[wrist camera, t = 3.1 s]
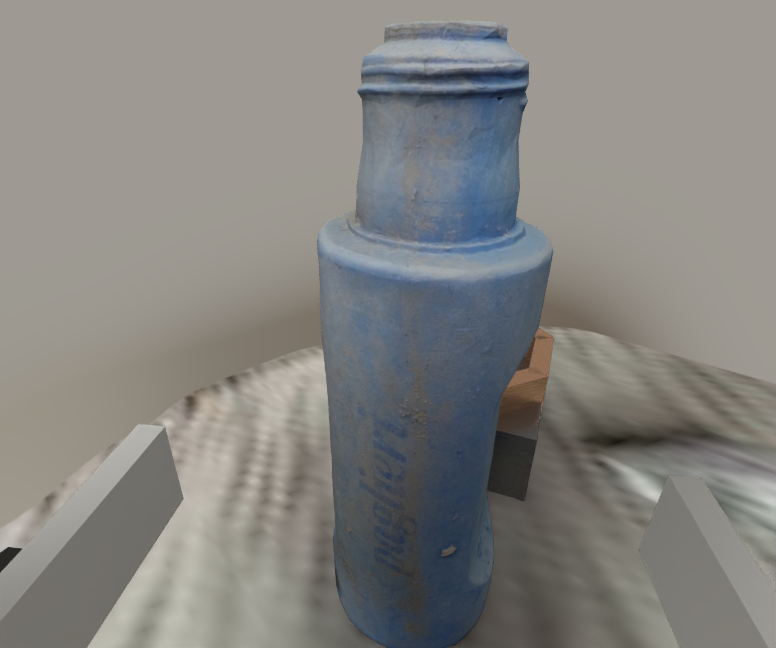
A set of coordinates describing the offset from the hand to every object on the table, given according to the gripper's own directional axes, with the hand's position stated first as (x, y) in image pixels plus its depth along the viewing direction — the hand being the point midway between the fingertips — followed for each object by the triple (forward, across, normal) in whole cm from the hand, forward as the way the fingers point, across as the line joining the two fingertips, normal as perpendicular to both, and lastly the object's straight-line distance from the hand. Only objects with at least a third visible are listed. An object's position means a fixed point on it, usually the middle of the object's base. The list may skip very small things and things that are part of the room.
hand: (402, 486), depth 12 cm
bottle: (+10, 0, -19) cm, 21 cm away
